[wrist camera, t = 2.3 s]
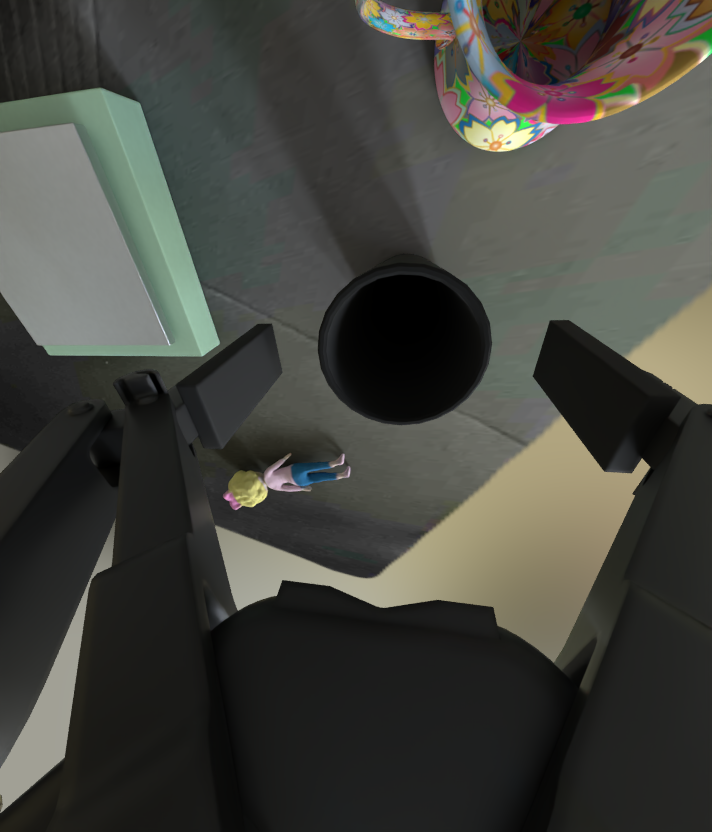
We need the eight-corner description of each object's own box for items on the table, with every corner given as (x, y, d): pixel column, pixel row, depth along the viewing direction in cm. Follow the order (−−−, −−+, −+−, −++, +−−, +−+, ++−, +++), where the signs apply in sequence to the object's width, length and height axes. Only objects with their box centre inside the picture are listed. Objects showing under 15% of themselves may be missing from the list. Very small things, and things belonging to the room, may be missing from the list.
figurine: (339, 435, 33) (228, 460, 37) (333, 463, 30) (210, 486, 33) (356, 473, 36) (252, 491, 40) (352, 501, 33) (238, 519, 36)
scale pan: (-86, 147, 19) (-103, 145, 18) (85, 125, 17) (72, 121, 16) (46, 342, 26) (37, 345, 26) (176, 342, 24) (169, 345, 24)
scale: (-62, 131, 21) (-123, 121, 19) (140, 102, 19) (100, 86, 16) (71, 343, 30) (42, 355, 28) (220, 343, 28) (202, 356, 25)
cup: (341, 259, 22) (289, 299, 13) (445, 218, 20) (480, 230, 10) (372, 352, 26) (350, 437, 16) (463, 327, 24) (499, 410, 14)
